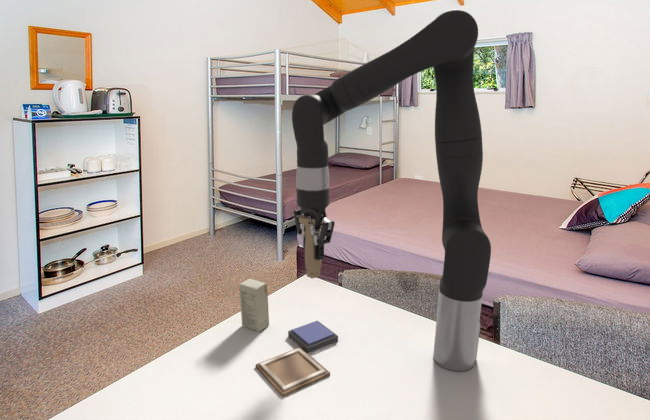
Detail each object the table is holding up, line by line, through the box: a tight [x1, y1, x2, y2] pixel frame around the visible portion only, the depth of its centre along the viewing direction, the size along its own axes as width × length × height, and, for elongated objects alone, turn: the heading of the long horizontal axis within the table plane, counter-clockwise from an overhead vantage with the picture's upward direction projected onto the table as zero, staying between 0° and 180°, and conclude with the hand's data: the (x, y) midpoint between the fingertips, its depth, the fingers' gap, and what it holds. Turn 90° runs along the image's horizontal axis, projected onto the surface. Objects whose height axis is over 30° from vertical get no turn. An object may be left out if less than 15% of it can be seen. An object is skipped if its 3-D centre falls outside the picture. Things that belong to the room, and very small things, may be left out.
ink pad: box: [287, 320, 339, 354], centre depth 107 cm, size 9×9×2 cm
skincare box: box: [238, 278, 270, 333], centre depth 112 cm, size 6×4×12 cm
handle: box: [299, 214, 322, 279], centre depth 101 cm, size 5×6×15 cm
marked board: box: [255, 346, 331, 397], centre depth 95 cm, size 12×12×1 cm
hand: (313, 255), depth 102 cm, fingers closed on handle, 4 cm apart
